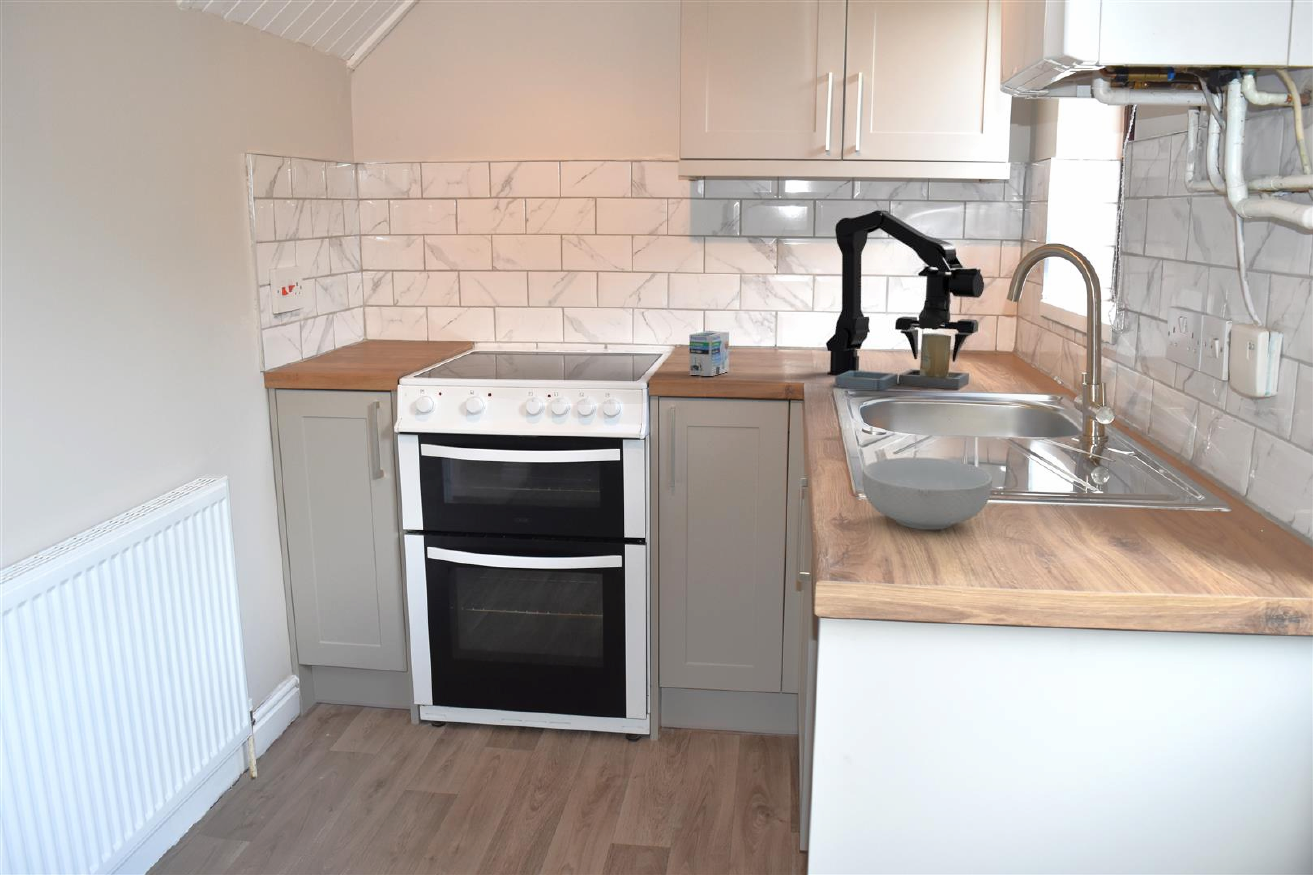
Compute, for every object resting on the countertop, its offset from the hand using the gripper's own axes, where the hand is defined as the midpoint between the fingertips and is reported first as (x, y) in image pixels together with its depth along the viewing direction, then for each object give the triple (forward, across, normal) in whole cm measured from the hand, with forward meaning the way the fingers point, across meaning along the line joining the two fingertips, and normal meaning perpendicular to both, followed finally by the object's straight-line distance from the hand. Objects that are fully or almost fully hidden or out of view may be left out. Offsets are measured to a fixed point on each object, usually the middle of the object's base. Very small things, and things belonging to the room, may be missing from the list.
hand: (934, 360), depth 252 cm
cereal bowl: (+6, +28, -115) cm, 119 cm away
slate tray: (+6, -14, -9) cm, 18 cm away
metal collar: (+6, 0, 0) cm, 6 cm away
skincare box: (+6, 0, 0) cm, 6 cm away
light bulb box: (+6, -56, -10) cm, 57 cm away
